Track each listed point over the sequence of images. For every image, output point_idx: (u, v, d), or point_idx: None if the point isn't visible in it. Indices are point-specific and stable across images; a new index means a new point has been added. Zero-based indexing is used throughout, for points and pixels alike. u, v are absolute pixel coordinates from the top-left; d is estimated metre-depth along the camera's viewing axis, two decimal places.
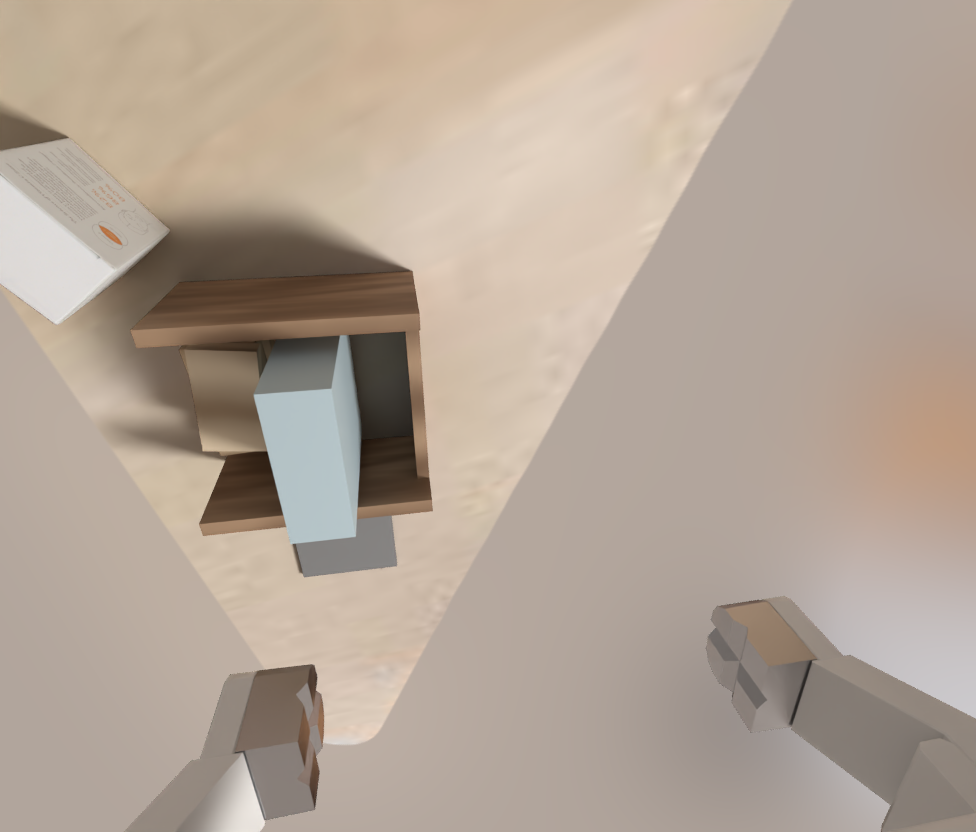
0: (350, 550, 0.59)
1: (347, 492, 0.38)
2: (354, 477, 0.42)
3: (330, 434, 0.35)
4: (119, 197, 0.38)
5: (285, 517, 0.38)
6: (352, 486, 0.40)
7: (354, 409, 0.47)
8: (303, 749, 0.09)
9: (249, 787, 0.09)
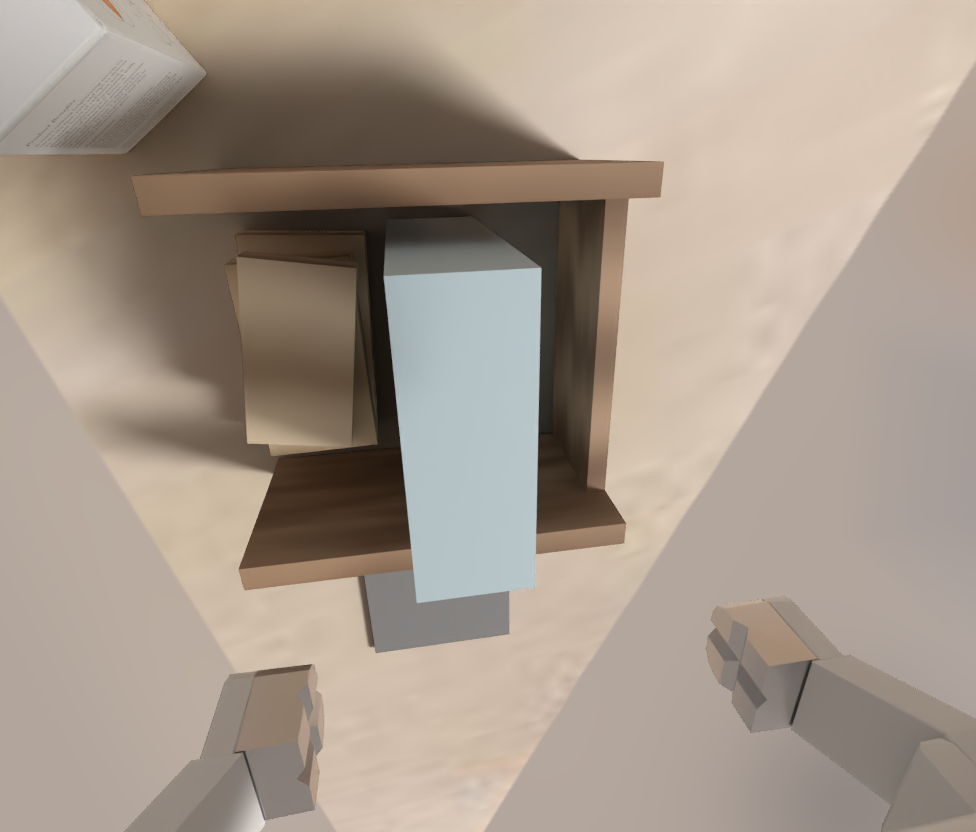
0: (445, 611, 0.40)
1: (535, 499, 0.19)
2: None
3: (523, 373, 0.17)
4: None
5: (414, 550, 0.19)
6: None
7: None
8: (303, 749, 0.09)
9: (249, 787, 0.09)
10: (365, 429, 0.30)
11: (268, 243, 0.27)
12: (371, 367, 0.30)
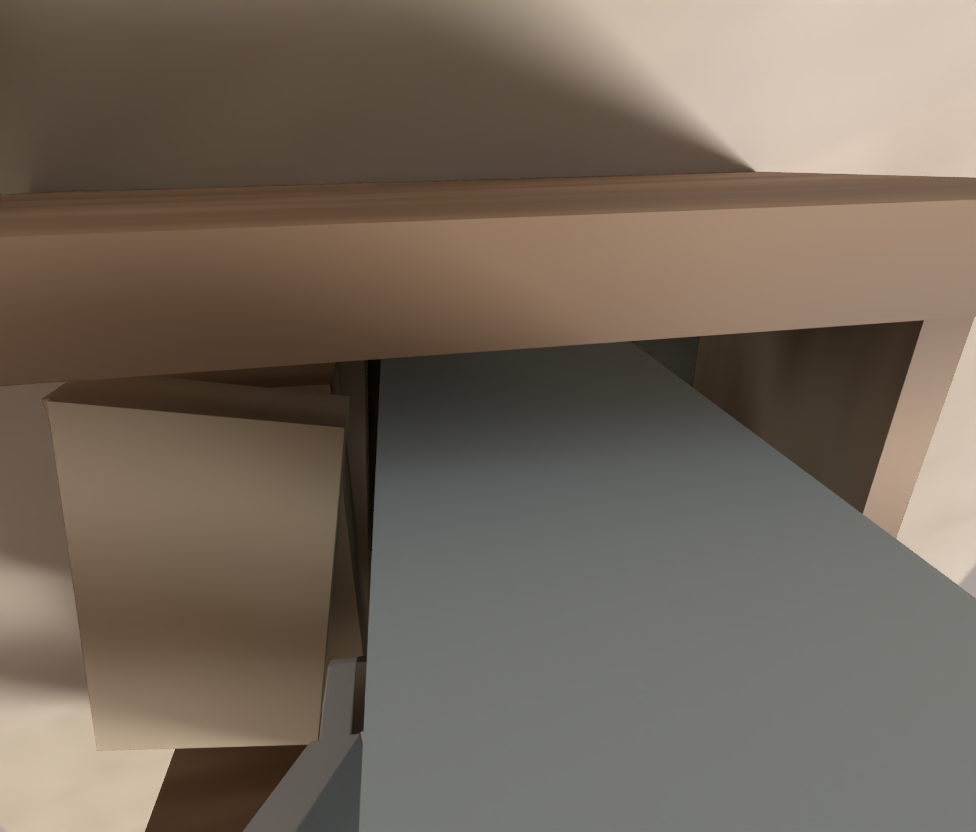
0: None
1: None
2: None
3: None
4: None
5: None
6: None
7: None
8: None
9: None
10: None
11: None
12: (365, 560, 0.16)
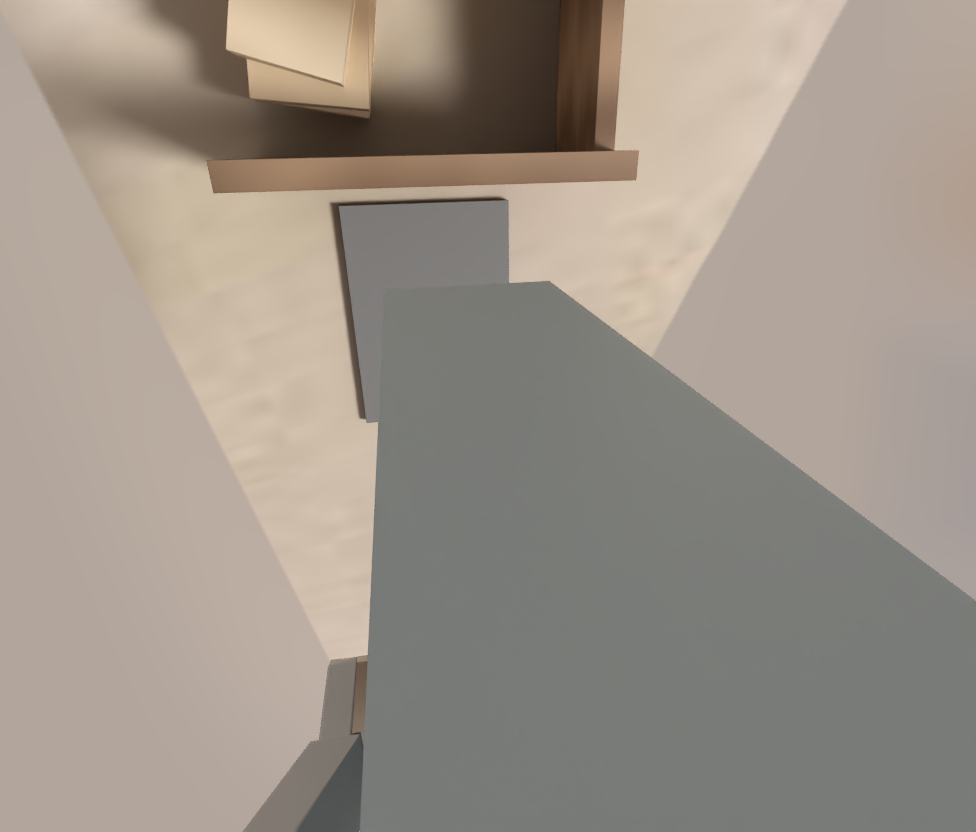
0: None
1: None
2: None
3: None
4: None
5: None
6: None
7: None
8: None
9: None
10: (357, 85, 0.27)
11: None
12: (371, 25, 0.28)
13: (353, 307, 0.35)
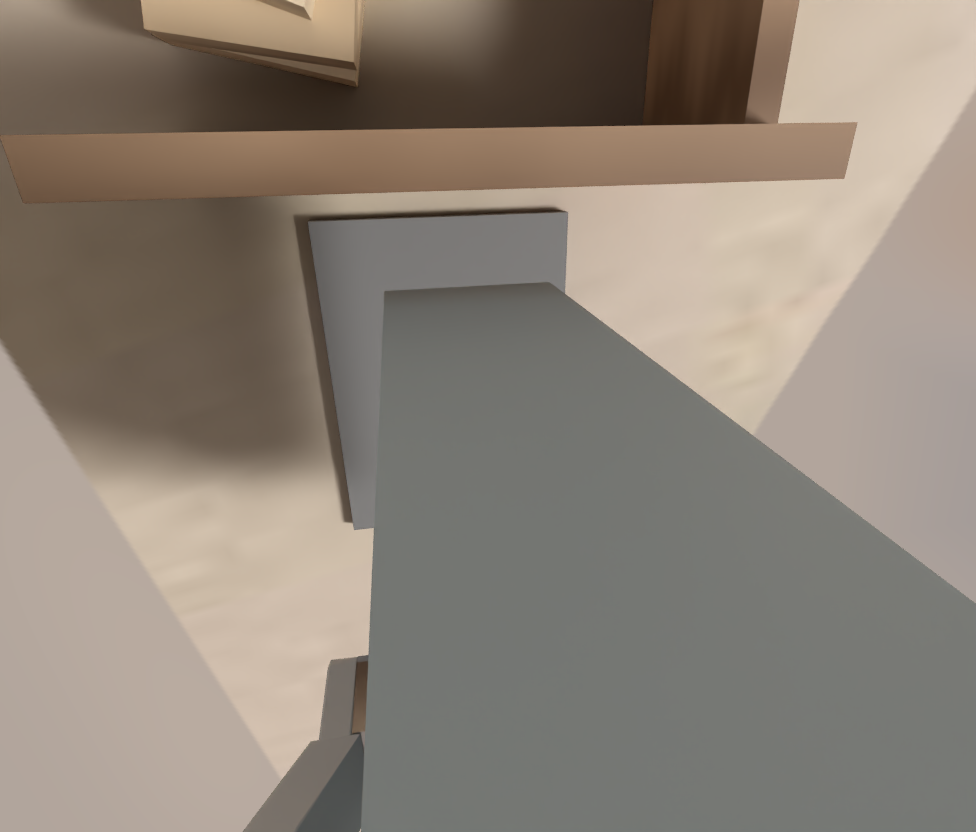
0: None
1: None
2: None
3: None
4: None
5: None
6: None
7: None
8: None
9: (363, 768, 0.09)
10: (336, 19, 0.16)
11: None
12: None
13: (333, 371, 0.23)
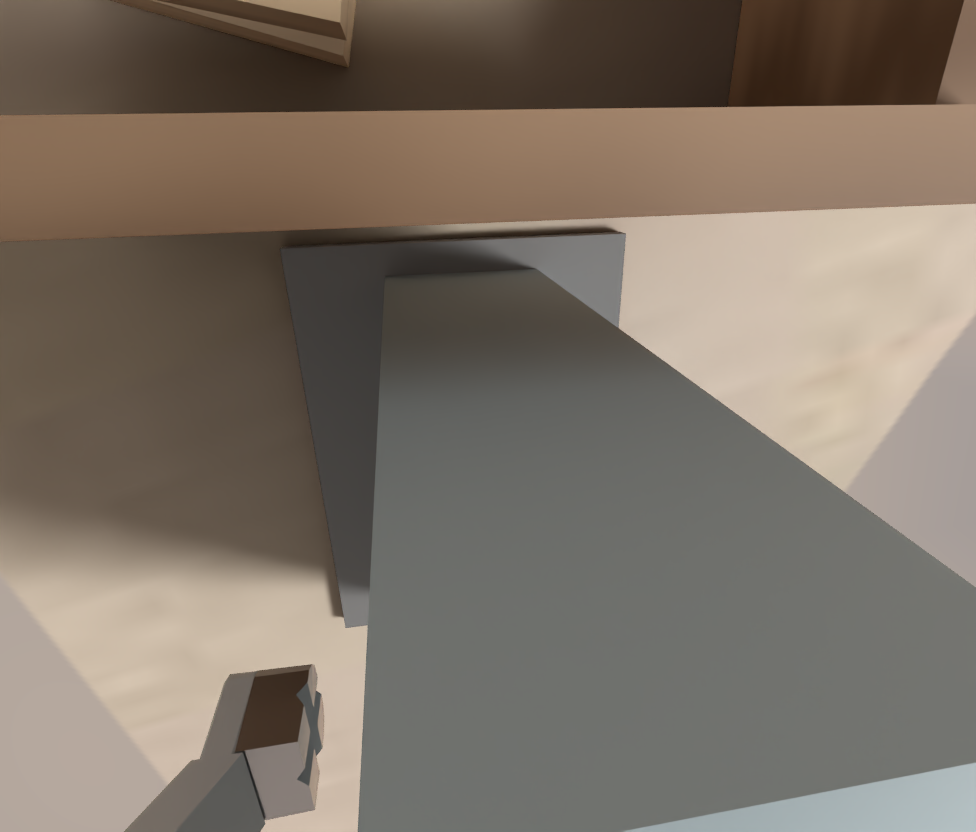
0: None
1: None
2: None
3: None
4: None
5: None
6: None
7: None
8: (303, 749, 0.09)
9: (249, 787, 0.09)
10: None
11: None
12: None
13: (316, 440, 0.18)
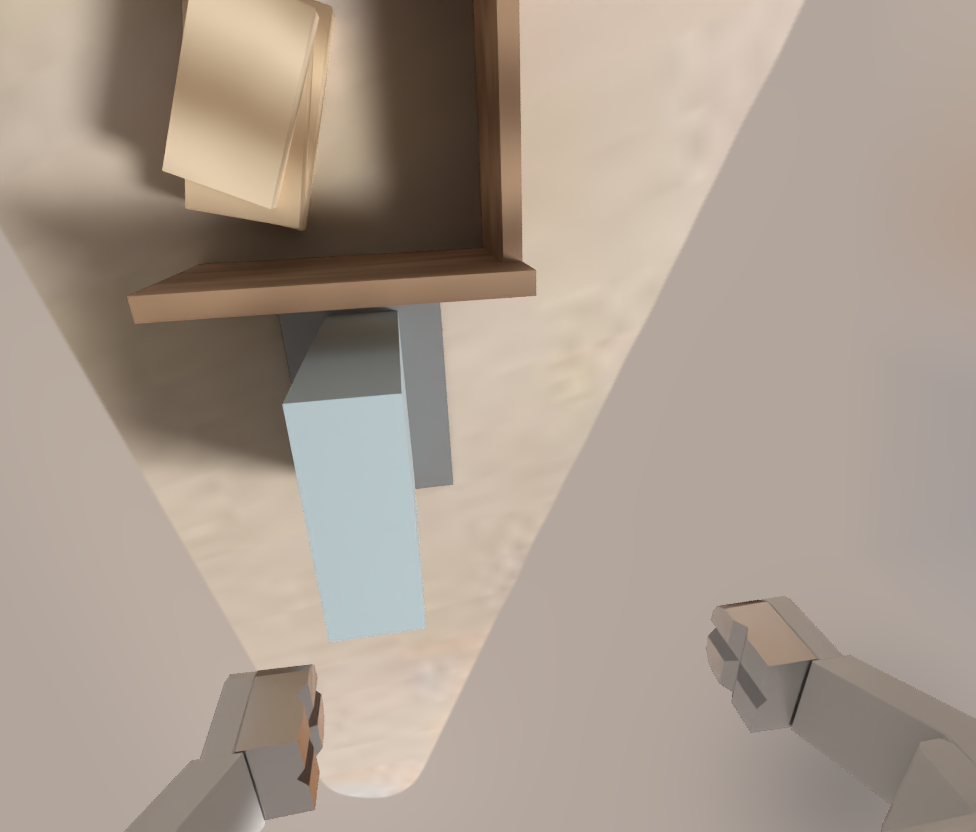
0: None
1: (417, 559, 0.25)
2: (418, 539, 0.29)
3: (396, 467, 0.23)
4: None
5: (323, 601, 0.25)
6: None
7: (410, 447, 0.34)
8: (303, 749, 0.09)
9: (249, 787, 0.09)
10: (289, 207, 0.29)
11: None
12: (310, 153, 0.30)
13: None
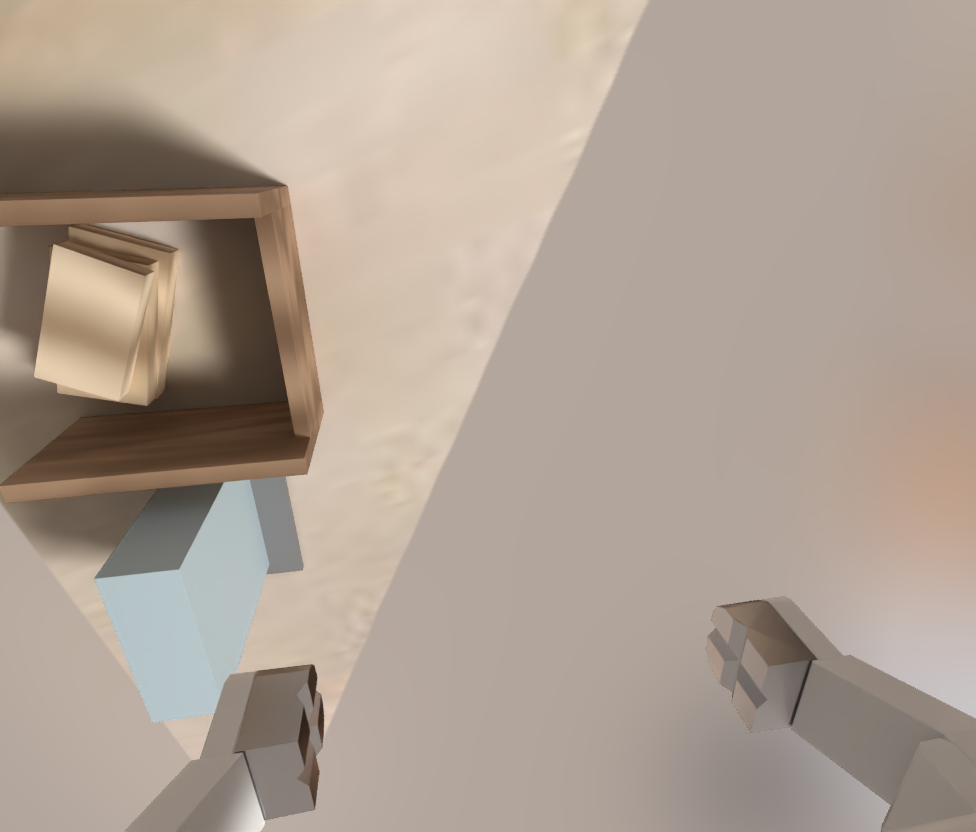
0: None
1: (209, 668, 0.35)
2: (234, 639, 0.40)
3: (183, 613, 0.33)
4: None
5: (143, 696, 0.35)
6: (225, 654, 0.38)
7: (249, 555, 0.45)
8: (303, 749, 0.09)
9: (249, 787, 0.09)
10: (139, 392, 0.39)
11: (94, 238, 0.36)
12: (159, 348, 0.40)
13: None
